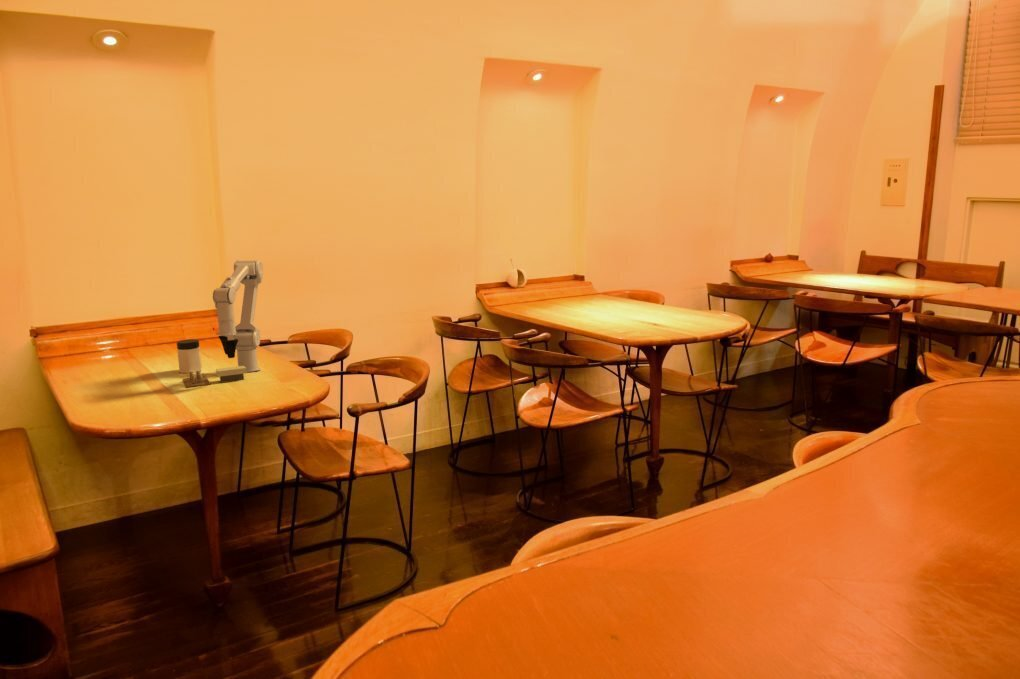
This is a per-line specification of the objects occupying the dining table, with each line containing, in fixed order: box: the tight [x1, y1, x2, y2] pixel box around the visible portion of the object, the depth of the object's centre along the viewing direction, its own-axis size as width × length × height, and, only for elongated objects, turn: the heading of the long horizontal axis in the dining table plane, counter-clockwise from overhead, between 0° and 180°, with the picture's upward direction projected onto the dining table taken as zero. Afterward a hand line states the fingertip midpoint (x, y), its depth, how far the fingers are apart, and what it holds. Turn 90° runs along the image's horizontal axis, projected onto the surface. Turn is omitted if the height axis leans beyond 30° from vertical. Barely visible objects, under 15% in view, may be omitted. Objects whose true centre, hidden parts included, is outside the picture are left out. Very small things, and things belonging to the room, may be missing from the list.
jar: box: [176, 338, 203, 374], centre depth 291 cm, size 9×8×12 cm
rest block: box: [219, 374, 245, 383], centre depth 276 cm, size 3×8×2 cm, turn 119°
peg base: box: [182, 371, 211, 389], centre depth 274 cm, size 14×8×3 cm, turn 29°
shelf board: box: [215, 365, 247, 378], centre depth 276 cm, size 10×4×2 cm, turn 118°
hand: (229, 355), depth 275 cm, fingers open, 7 cm apart
